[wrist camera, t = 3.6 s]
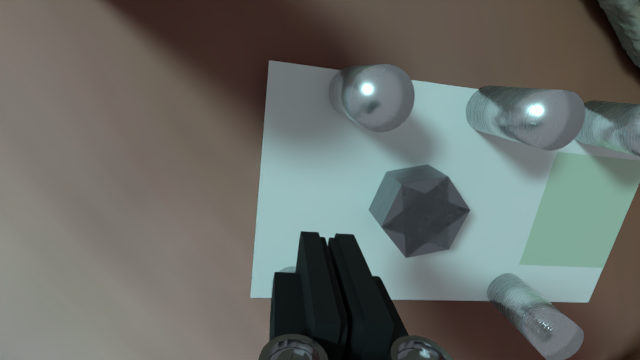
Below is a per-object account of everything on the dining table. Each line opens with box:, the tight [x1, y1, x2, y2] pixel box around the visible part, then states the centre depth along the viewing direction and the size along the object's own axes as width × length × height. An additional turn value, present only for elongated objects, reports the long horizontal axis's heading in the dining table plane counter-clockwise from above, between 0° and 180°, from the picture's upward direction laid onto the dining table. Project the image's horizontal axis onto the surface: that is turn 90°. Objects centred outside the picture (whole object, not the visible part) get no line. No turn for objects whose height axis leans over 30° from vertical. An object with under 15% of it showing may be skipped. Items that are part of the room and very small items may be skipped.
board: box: [250, 60, 640, 302], centre depth 21 cm, size 14×25×1 cm, turn 83°
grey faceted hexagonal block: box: [368, 164, 470, 258], centre depth 19 cm, size 4×5×2 cm
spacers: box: [271, 64, 640, 360], centre depth 18 cm, size 15×20×5 cm
